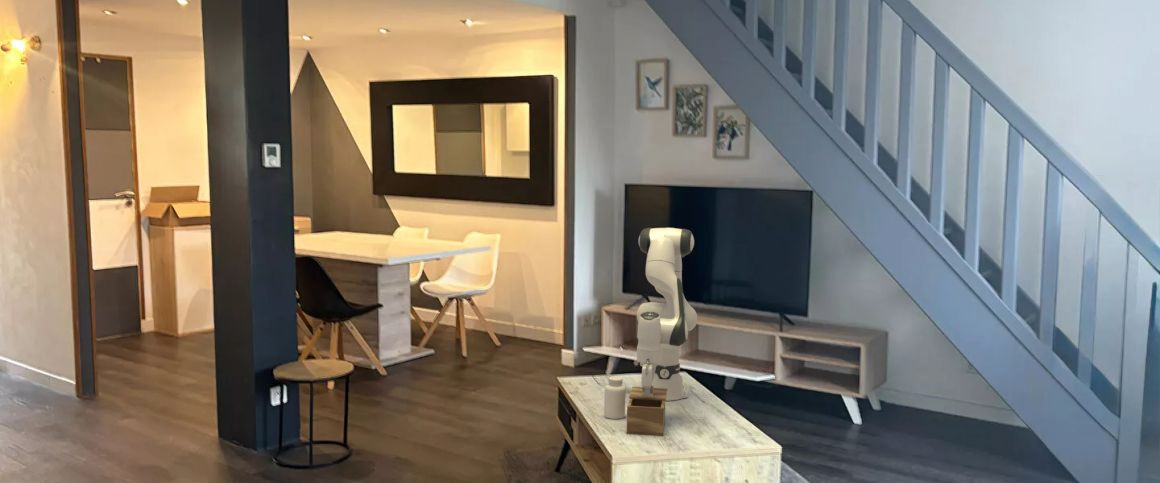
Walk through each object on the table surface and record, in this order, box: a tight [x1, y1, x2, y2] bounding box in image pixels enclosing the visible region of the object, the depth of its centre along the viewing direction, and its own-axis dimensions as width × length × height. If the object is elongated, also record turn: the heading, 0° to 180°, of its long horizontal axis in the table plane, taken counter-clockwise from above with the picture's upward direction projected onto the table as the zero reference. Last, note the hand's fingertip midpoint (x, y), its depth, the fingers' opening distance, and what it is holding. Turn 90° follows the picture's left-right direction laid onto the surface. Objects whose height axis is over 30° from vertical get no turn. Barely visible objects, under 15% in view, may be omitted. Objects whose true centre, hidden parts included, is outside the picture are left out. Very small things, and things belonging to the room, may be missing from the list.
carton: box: [626, 399, 666, 437], centre depth 334 cm, size 14×13×10 cm
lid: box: [628, 386, 667, 402], centre depth 343 cm, size 14×13×4 cm
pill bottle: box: [603, 376, 626, 420], centre depth 348 cm, size 8×8×15 cm
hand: (647, 393), depth 338 cm, fingers closed on lid, 2 cm apart
